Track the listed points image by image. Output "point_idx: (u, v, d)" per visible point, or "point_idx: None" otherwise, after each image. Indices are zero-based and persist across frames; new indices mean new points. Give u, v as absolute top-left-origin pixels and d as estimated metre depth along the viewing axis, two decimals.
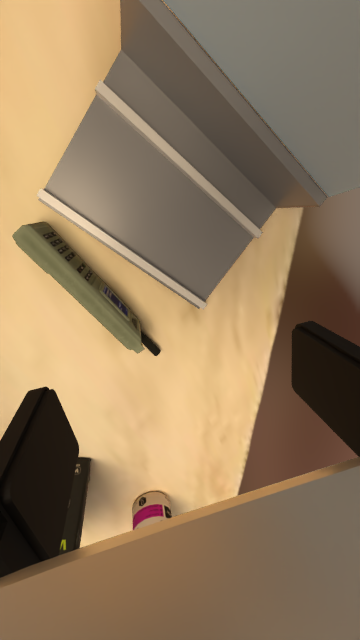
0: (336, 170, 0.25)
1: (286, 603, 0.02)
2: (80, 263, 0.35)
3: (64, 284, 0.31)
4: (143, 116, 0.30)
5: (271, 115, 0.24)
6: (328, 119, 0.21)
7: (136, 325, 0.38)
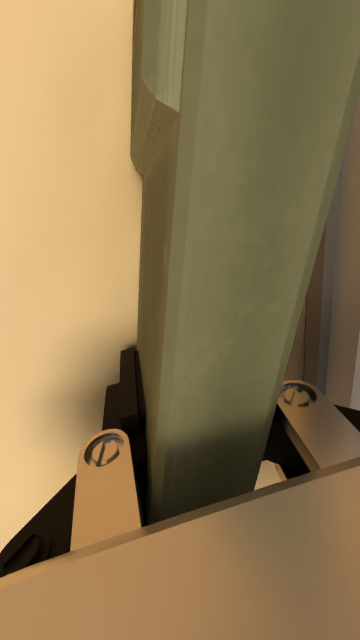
0: None
1: (286, 603, 0.02)
2: None
3: (201, 269, 0.04)
4: None
5: None
6: None
7: None
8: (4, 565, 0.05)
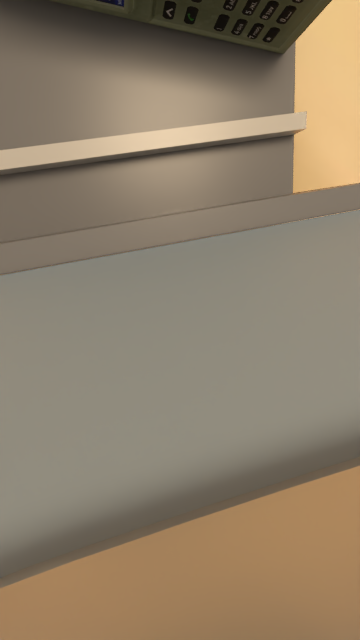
0: None
1: (286, 603, 0.02)
2: (199, 14, 0.15)
3: None
4: (231, 154, 0.20)
5: (104, 264, 0.11)
6: None
7: None
8: None
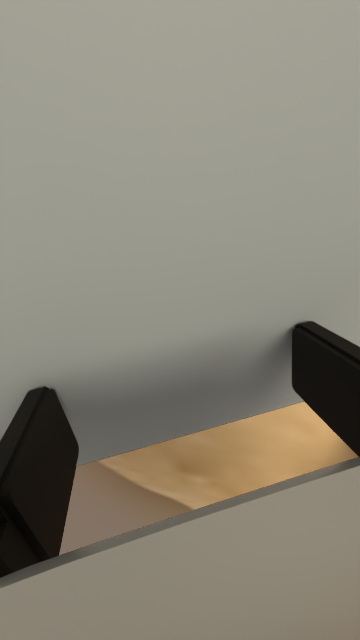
0: None
1: (286, 603, 0.02)
2: None
3: None
4: None
5: None
6: None
7: None
8: None
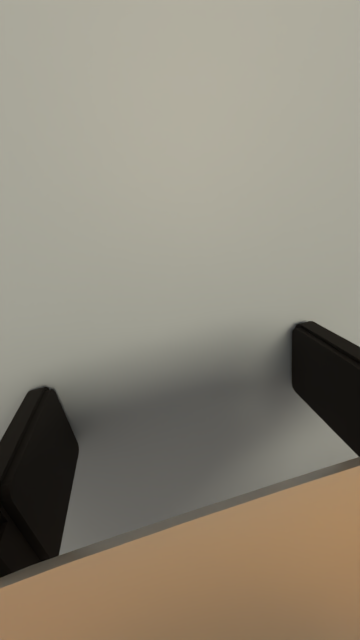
0: None
1: (286, 603, 0.02)
2: None
3: None
4: None
5: None
6: None
7: None
8: None
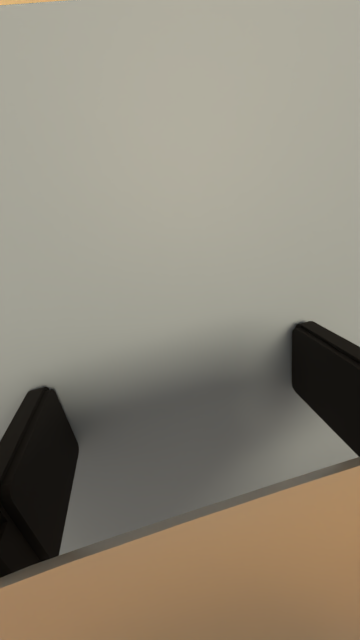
0: None
1: (286, 603, 0.02)
2: None
3: None
4: None
5: None
6: None
7: None
8: None
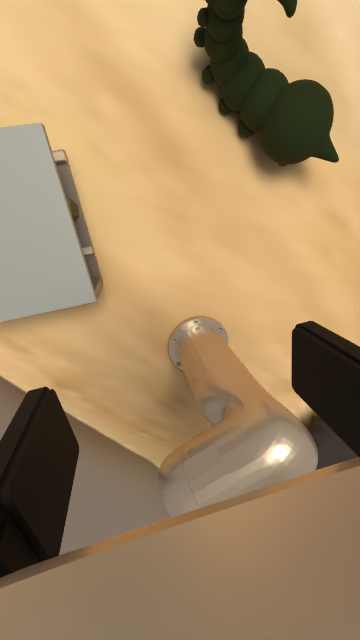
0: None
1: (286, 603, 0.02)
2: None
3: None
4: None
5: None
6: None
7: None
8: None
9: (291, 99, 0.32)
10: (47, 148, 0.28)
